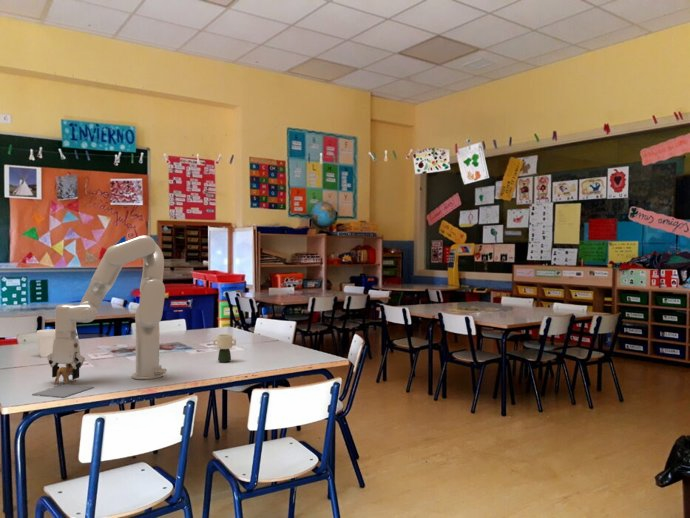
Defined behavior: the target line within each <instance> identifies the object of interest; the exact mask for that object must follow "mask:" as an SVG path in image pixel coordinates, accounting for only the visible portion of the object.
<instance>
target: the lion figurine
mask: <svg viewBox="0 0 690 518" xmlns="http://www.w3.org/2000/svg"><path fill="white" fill-rule="evenodd" d="M75 365H76V364H75ZM73 369H74V368H73V366H72V365H71V364H65V367H64V366H61V367H59V369H58V371H57V376H56V377H55V379H54V384H53V385H55V386H60V380H59V379H60V378H61V376H62V378H63V379H62V381H63V383H64V384H67V385H69V381H70V380H69V376H72V370H73ZM71 379H72V378H71ZM71 381H72V382H76V379H72V380H71Z"/></svg>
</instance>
